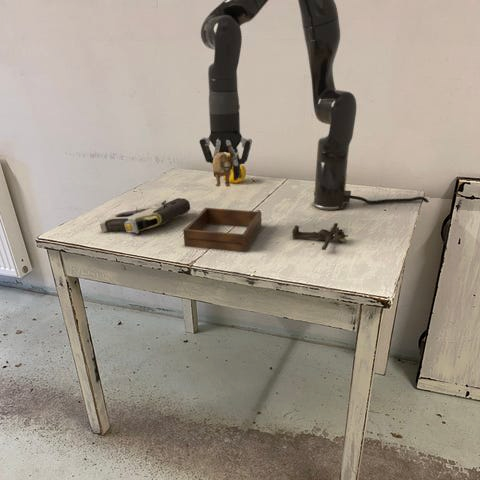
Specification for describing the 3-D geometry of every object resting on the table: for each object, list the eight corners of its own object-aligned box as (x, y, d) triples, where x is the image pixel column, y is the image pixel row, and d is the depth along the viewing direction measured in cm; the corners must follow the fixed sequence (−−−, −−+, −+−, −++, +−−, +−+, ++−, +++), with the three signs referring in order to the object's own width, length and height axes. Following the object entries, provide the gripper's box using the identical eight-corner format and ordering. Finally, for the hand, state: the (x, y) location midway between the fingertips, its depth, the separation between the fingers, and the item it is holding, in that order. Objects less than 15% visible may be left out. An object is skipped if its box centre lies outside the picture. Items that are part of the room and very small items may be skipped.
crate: (261, 226, 139) (261, 211, 137) (245, 252, 125) (245, 235, 122) (206, 222, 143) (205, 207, 141) (184, 246, 129) (183, 230, 126)
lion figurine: (230, 191, 123) (228, 154, 119) (210, 190, 125) (207, 154, 120) (244, 175, 135) (243, 142, 131) (226, 175, 137) (224, 141, 132)
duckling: (214, 181, 177) (213, 153, 172) (222, 178, 181) (221, 150, 176) (241, 186, 172) (240, 157, 167) (248, 182, 176) (248, 154, 171)
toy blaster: (94, 217, 137) (129, 222, 128) (157, 192, 153) (192, 195, 144) (100, 236, 139) (134, 242, 131) (161, 209, 155) (195, 213, 147)
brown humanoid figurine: (301, 215, 138) (353, 215, 133) (302, 229, 140) (352, 230, 135) (284, 238, 124) (342, 240, 119) (285, 254, 126) (342, 256, 121)
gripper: (192, 112, 118) (197, 181, 128) (248, 113, 115) (249, 184, 124) (201, 107, 124) (206, 173, 134) (255, 107, 121) (256, 176, 130)
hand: (227, 178), depth 129 cm, fingers closed on lion figurine, 4 cm apart
